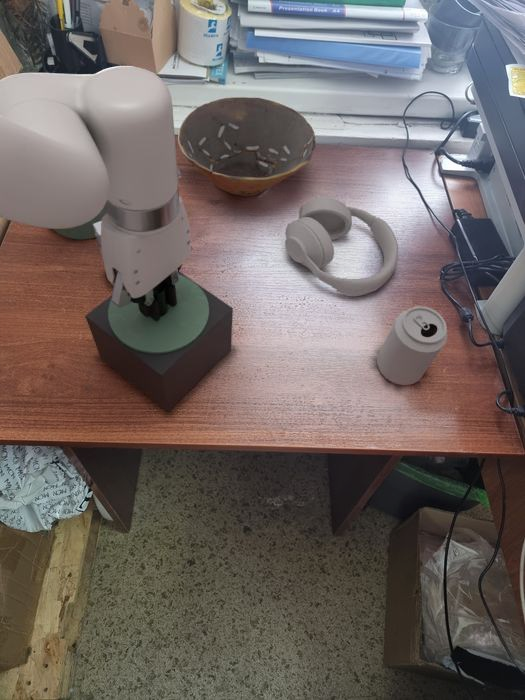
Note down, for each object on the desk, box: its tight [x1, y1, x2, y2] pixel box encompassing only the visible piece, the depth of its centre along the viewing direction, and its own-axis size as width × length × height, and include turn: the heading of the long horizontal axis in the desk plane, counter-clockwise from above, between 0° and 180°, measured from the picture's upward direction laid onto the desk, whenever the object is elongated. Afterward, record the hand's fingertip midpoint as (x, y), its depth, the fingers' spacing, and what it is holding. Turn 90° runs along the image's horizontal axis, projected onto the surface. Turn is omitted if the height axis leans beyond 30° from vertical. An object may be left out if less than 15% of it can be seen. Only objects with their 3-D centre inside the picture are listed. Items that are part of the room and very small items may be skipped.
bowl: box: [177, 96, 317, 197], centre depth 97 cm, size 25×25×10 cm
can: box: [376, 305, 448, 386], centre depth 75 cm, size 8×8×12 cm
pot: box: [53, 206, 107, 240], centre depth 89 cm, size 12×12×8 cm
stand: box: [84, 271, 234, 413], centre depth 73 cm, size 14×14×11 cm
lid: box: [108, 275, 209, 354], centre depth 66 cm, size 13×13×5 cm
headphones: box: [284, 196, 399, 297], centre depth 89 cm, size 18×8×20 cm
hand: (158, 306), depth 67 cm, fingers closed on lid, 2 cm apart
